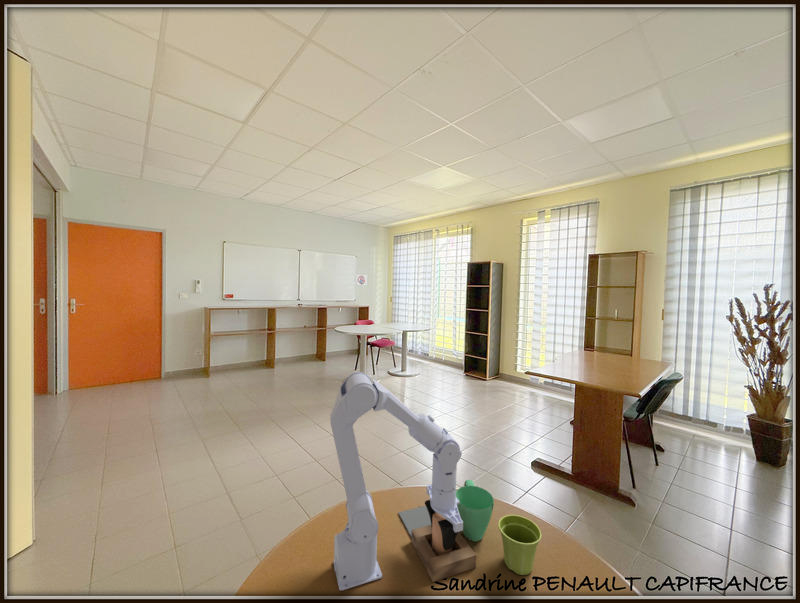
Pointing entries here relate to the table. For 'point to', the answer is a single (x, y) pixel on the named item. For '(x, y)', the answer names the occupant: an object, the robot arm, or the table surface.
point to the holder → (444, 563)
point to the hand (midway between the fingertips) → (442, 539)
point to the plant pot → (519, 542)
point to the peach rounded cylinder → (438, 536)
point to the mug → (474, 509)
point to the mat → (415, 518)
